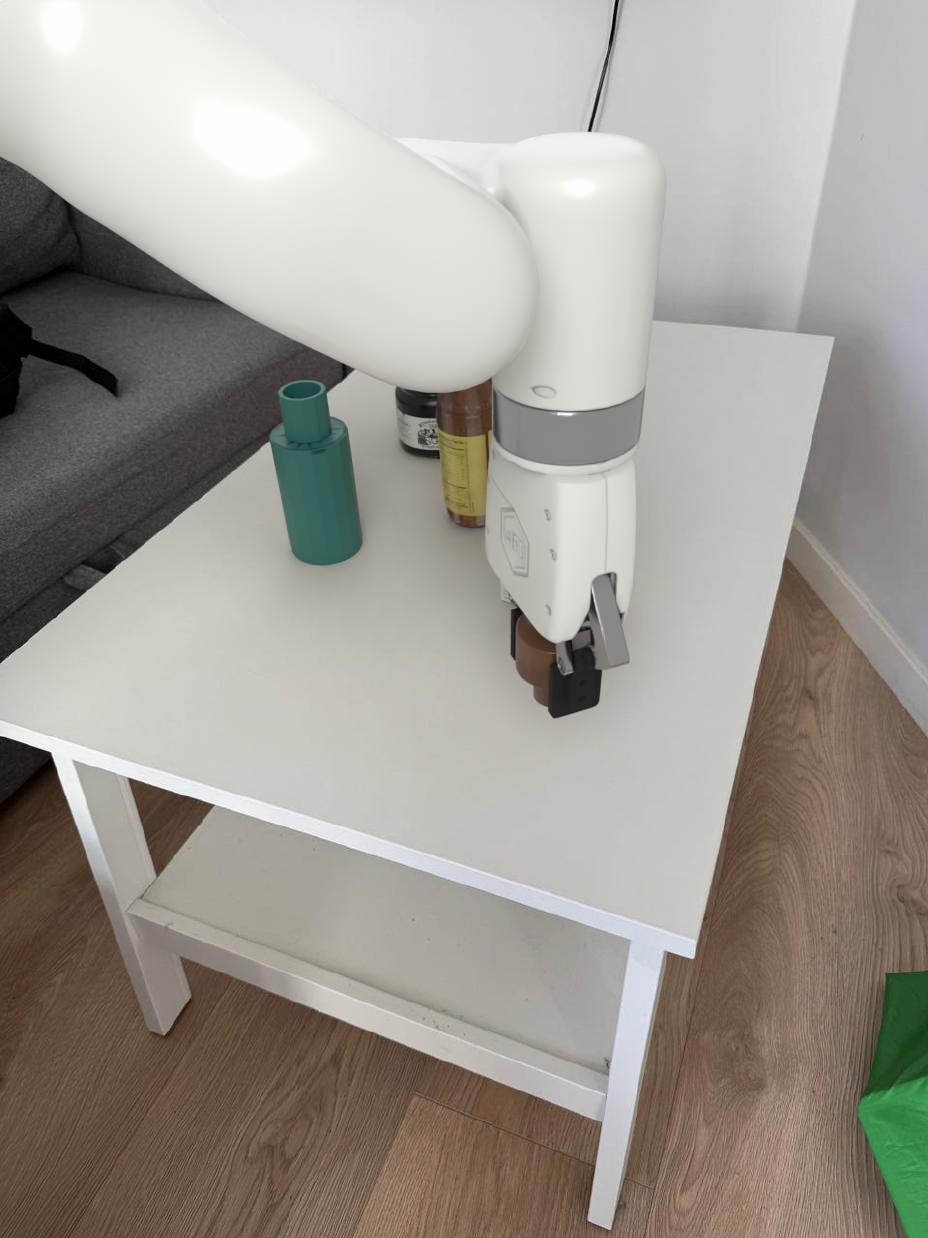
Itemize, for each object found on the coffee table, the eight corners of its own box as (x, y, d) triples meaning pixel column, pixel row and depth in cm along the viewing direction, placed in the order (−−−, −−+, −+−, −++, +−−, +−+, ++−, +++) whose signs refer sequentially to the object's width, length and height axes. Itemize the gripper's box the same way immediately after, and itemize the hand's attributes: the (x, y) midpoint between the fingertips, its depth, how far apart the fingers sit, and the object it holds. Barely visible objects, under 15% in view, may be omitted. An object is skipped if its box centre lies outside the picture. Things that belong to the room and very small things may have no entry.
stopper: (534, 729, 56) (536, 661, 52) (503, 680, 59) (503, 613, 56) (604, 708, 57) (611, 640, 53) (569, 661, 60) (574, 595, 57)
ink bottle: (388, 458, 101) (377, 354, 93) (403, 421, 108) (394, 321, 100) (476, 461, 100) (472, 356, 92) (485, 423, 106) (482, 322, 99)
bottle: (300, 572, 85) (270, 414, 75) (284, 535, 90) (254, 382, 80) (370, 554, 87) (350, 397, 77) (351, 519, 92) (329, 367, 82)
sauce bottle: (489, 491, 95) (484, 300, 82) (518, 519, 90) (517, 322, 78) (432, 508, 93) (417, 315, 80) (459, 538, 88) (448, 338, 76)
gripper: (438, 363, 51) (449, 618, 62) (576, 512, 39) (558, 796, 50) (559, 341, 53) (548, 591, 64) (727, 476, 41) (677, 757, 52)
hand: (553, 678), depth 57 cm, fingers closed on stopper, 4 cm apart
